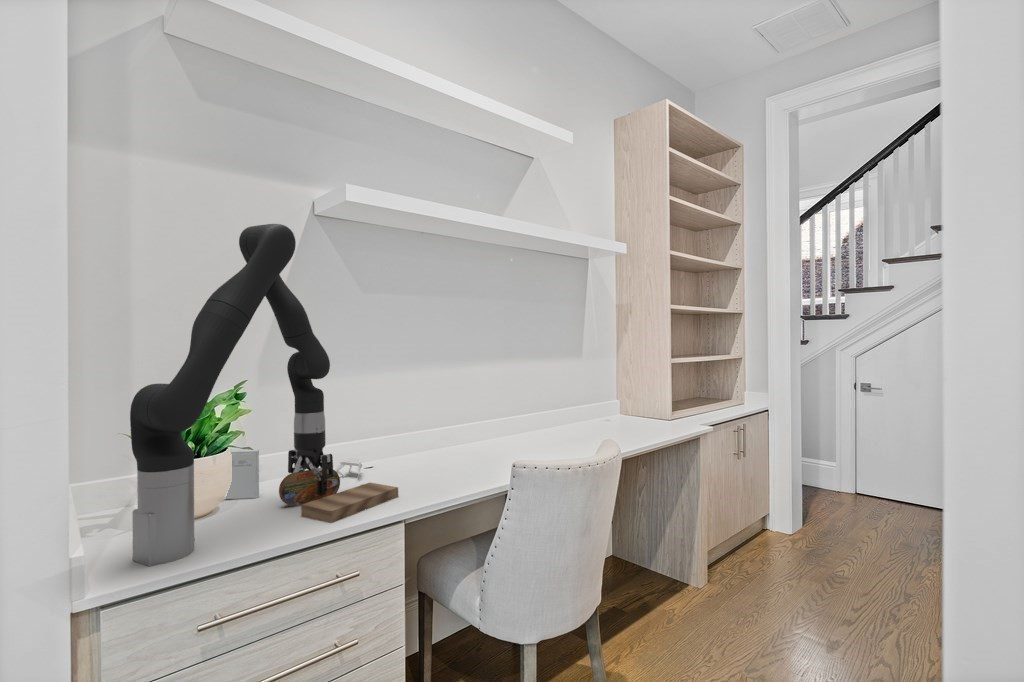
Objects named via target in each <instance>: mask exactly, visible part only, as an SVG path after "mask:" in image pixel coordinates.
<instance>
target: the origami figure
mask: <svg viewBox="0 0 1024 682" xmlns="http://www.w3.org/2000/svg"><path fill="white" fill-rule="evenodd" d="M339 463H340V465H339V466H337V467H336V468H335V469H334V470H335V471H336V472H337V473H338V475H339V478H340V479H343V477H345V474H343V473H342V472H341V471H340V470H341V469H342V468H344V466H349V469H348V473H350V472H351V471H352V467H353V466H354V467H357V469H358V470H357V478H356V480H359V478H360V476H361V469H362V467H363V464H362V462H361V461H360V459H358V458H351V457H347V458H346V459H345V460H343V461H340V462H339Z"/></svg>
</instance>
